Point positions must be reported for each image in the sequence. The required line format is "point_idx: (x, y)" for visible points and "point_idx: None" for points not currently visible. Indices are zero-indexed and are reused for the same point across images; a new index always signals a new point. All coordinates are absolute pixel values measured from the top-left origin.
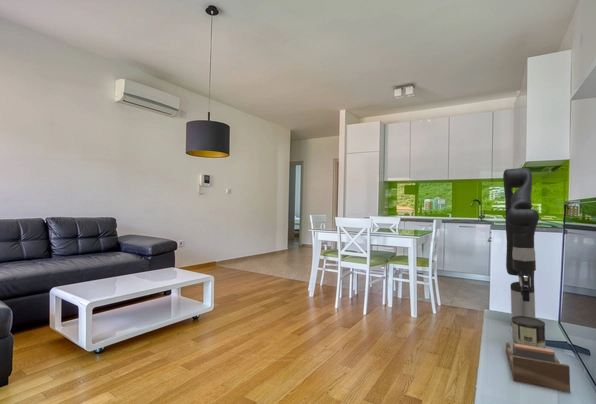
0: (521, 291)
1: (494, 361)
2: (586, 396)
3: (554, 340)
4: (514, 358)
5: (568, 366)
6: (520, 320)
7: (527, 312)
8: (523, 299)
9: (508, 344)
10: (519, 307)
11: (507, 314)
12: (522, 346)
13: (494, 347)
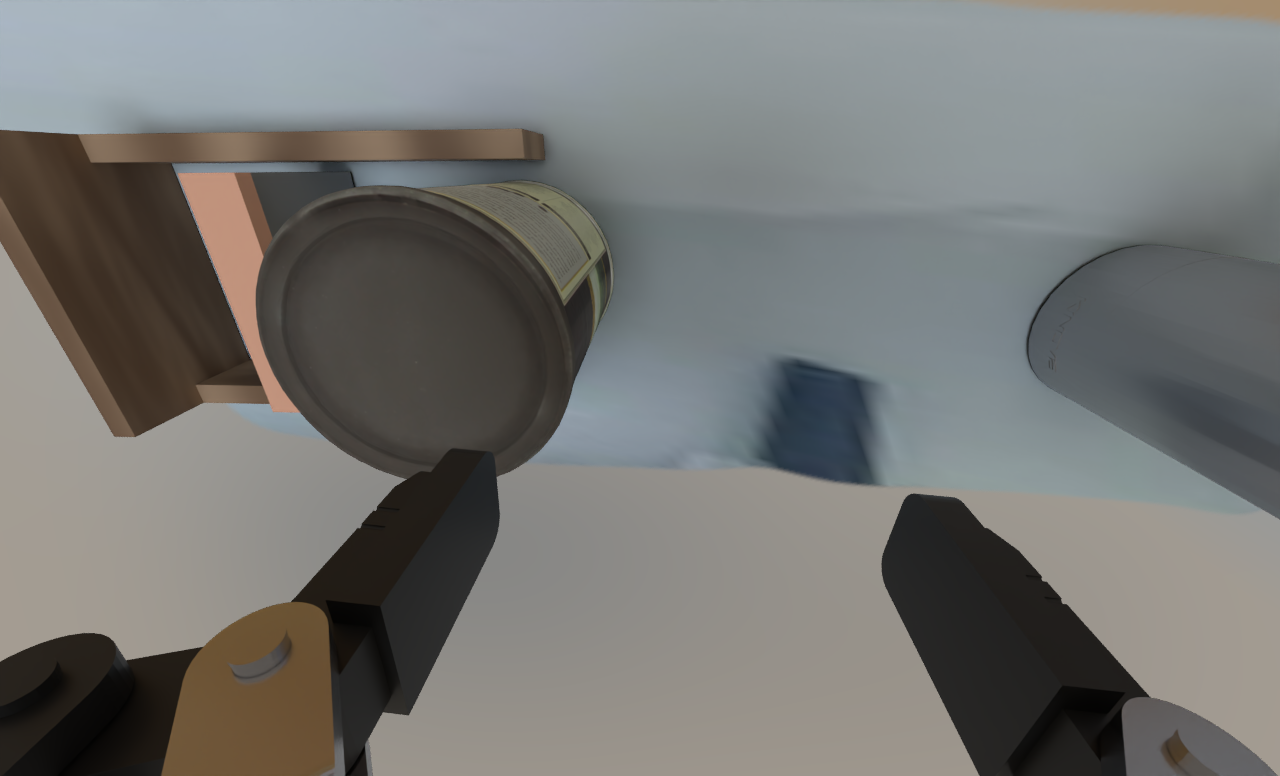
0: (953, 551)
1: (329, 34)
2: (258, 422)
3: (872, 450)
4: None
5: (114, 433)
6: (386, 285)
7: (1160, 406)
8: (441, 470)
9: (476, 148)
10: (1250, 359)
11: None
12: (216, 230)
13: (590, 51)
